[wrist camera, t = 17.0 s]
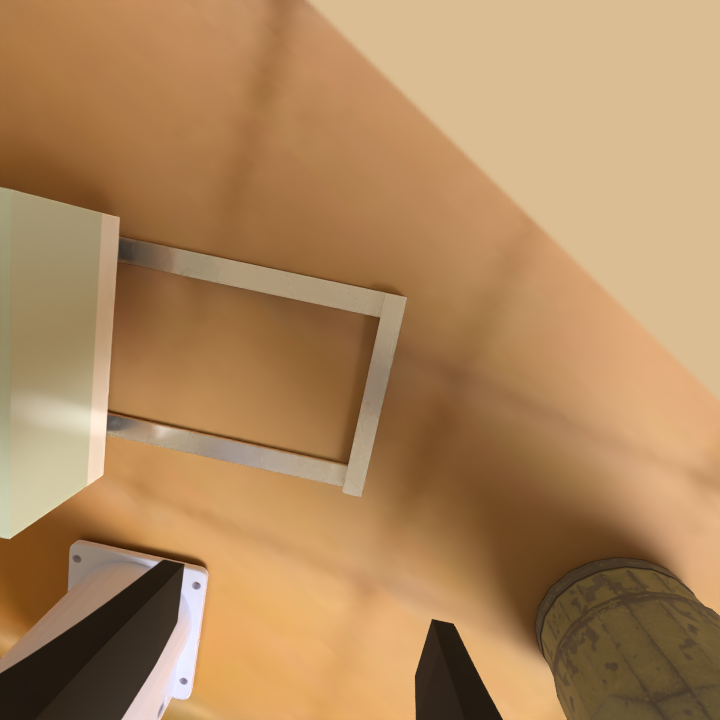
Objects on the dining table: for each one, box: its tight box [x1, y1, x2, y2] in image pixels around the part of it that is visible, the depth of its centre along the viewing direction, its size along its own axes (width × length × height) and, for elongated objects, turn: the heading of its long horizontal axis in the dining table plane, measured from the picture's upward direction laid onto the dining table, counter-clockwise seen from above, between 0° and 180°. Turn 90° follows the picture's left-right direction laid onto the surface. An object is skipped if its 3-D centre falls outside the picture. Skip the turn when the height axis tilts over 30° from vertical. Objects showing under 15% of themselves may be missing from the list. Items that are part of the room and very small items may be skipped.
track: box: [107, 236, 407, 497], centre depth 19 cm, size 10×26×1 cm, turn 78°
